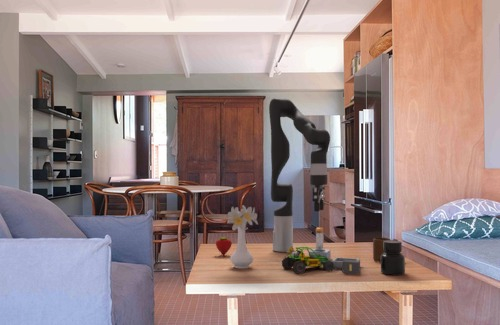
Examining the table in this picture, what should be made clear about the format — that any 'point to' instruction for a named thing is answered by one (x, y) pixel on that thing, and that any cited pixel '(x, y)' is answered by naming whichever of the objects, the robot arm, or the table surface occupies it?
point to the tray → (340, 262)
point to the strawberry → (223, 245)
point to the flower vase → (241, 235)
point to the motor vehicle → (305, 261)
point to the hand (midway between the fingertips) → (319, 210)
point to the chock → (351, 266)
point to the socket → (321, 253)
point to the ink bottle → (392, 258)
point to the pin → (319, 239)
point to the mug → (379, 248)
